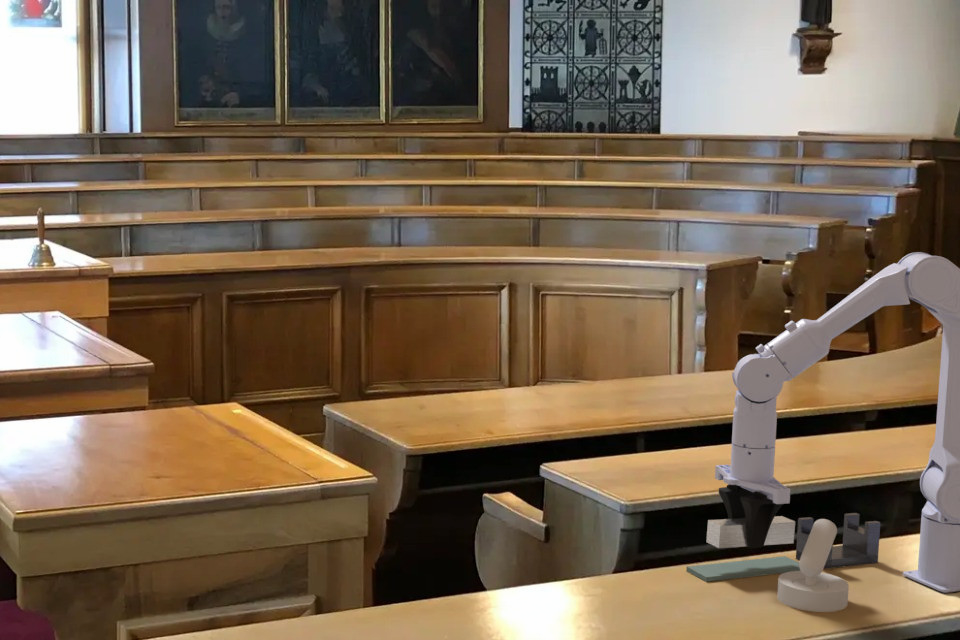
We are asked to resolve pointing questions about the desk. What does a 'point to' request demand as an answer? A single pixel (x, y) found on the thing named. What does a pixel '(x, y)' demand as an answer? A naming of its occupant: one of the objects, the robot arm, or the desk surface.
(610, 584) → the desk surface
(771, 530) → the silver rail
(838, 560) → the dark grey slotted rack
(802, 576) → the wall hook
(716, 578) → the rubber mat
